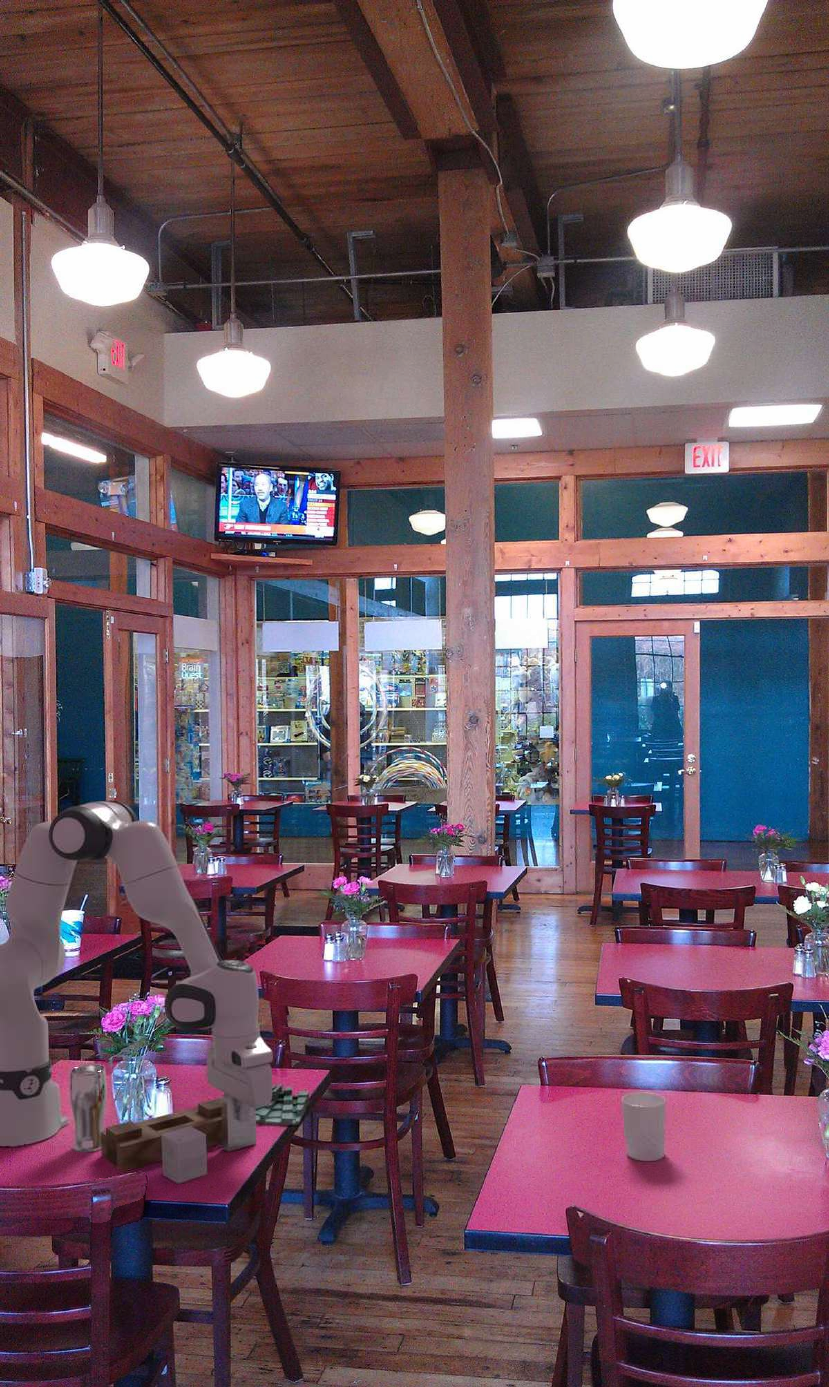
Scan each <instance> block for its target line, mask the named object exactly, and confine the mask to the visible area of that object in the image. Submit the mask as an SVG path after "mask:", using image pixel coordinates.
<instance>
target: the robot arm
mask: <svg viewBox="0 0 829 1387" xmlns="http://www.w3.org/2000/svg"><path fill="white" fill-rule="evenodd" d="M103 859H108V860H110V861H111V862H112V863H113V864H114V865H115V866H116V868H117V871H118V873H119V876H120V879H121V880H120V881H121V882H122V885H123V889H124V892H125V894H126V895H125V896H126V898H127V900H128V903H129V905H130V906H131V909H132V910H133V911H134V912H135V914H136V915H137V916H138V917H139V918H141V919H143V920H145V921H148V922H151V923H155V924H158V925H161V926H162V927H165V928H167V929H168V930H169V931H171V933H172V934H173V935H174V936H175V938H176V939H177V942H178V944H179V946H180V949H181V951H182V953H183V956H184V957H185V960H186V962H187V965H188V967H189V970H190V976H189V977H187V978H184V979H183V980H180V981H179V982H177V983H176V984H175V985H173V986H172V987H170V989H169V990H168V991H167V993H166V994H165V998H164V1004H163V1006H164V1012H165V1015H166V1018H167V1020H168V1021H169V1023H170V1024H171V1025H172V1026H174V1027H175V1028H177V1029H178V1030H181V1031H187V1032H188V1031H195V1030H200V1029H201V1030H202V1029H205V1028H211V1029H212V1032H213V1034H212V1035H213V1037H212V1039H213V1040H212V1041H211V1043H210V1048H209V1050H208V1051H207V1055H206V1056H207V1057H206V1080H207V1083H208V1085H209V1086H211V1087H213V1088H215V1089H217V1090H219V1091H221V1092H222V1093H223V1095H225V1094H228V1095H230V1096H232V1097H234V1098H235V1099H237V1100H239V1105H240V1106H241V1107H240V1112H237V1116H238V1121H240V1122H241V1123H245V1122H248V1121H249V1112H250V1110H251V1107H252V1108H254V1109H256V1108H260V1107H264V1106H267V1105H269V1104H270V1102H271V1100H272V1086H273V1072H272V1066H271V1065H270V1063H272V1062H273V1059H274V1056H273V1055H274V1054H273V1050H272V1049H271V1048H270V1047H269V1046H268V1044H267V1043H266V1042H265V1041H264V1039H263V1037H262V1036H261V1034H260V1032H261V1031H260V1024H259V1022H258V1011H259V1008H260V1005H259V1004H260V1001H259V999H260V998H259V988H258V987H259V985H258V979H257V974H256V972H255V968H254V967H253V966H252V964H249V963H248V962H246V961H242V960H238V959H222V958H221V956H220V954H219V952H218V950H217V947H216V946H215V942H214V940H213V939H212V936H211V934H210V932H209V929H208V927H207V924H206V922H205V920H204V918H203V916H202V914H201V911H200V910H199V908H198V906H197V905H196V903H195V901H194V899H193V897H192V896H191V894H190V892H189V891H188V889H187V887H186V886H187V885H186V884H185V881H184V878H183V876H182V874H181V872H180V868H179V866H178V863H177V860H176V857H175V855H174V853H173V850H172V848H171V846H170V844H169V842H168V840H167V838H166V836H165V834H164V833H163V831H162V829H161V828H160V826H159V825H158V824H157V823H155V822H153V821H151V820H138V817H137V814H136V813H135V812H134V810H133V809H132V808H131V807H130V806H129V805H127V804H126V803H124V802H121V801H118V800H105V801H90V802H87V803H85V804H80V805H76V806H75V805H74V806H71V807H68V808H66V809H65V810H63V811H60V812H59V813H58V814H57V815H56V816H55V817H54V818H53V819H52V821H50V820H49V821H44V822H41V823H38V824H36V825H34V826H33V827H32V828H31V830H30V832H29V834H28V836H27V838H26V840H25V842H24V844H23V846H22V849H21V852H20V854H19V857H18V859H17V863H16V867H15V869H14V872H13V877H12V880H11V884H10V887H9V891H8V895H7V897H6V898H7V899H6V902H5V910H6V913H7V915H8V916H9V918H10V933H9V936H8V938H7V940H5V942H4V943H0V1146H4V1148H6V1147H5V1146H10V1147H17V1146H18V1147H19V1145H20V1146H25V1145H24V1144H26V1145H29V1144H33V1143H34V1144H35V1143H37V1142H41V1141H43V1140H46V1139H49V1138H50V1137H52V1136H54V1135H56V1134H57V1133H58V1132H59V1130H60V1129H61V1128H62V1127H64V1126H67V1125H68V1124H69V1118H68V1116H65V1115H63V1114H62V1109H61V1108H62V1107H61V1106H62V1105H61V1098H60V1097H61V1096H60V1088H59V1087H60V1085H59V1084H58V1083H56V1082H55V1081H53V1080H52V1076H53V1075H52V1072H53V1071H52V1070H53V1065H52V1059H51V1058H50V1055H49V1054H50V1053H49V1051H50V1049H49V1048H50V1047H49V1023H48V1020H47V1018H46V1017H45V1016H44V1015H43V1014H41V1013H40V1012H39V1010H38V1006H37V1004H36V1001H35V1000H36V999H35V990H36V989H38V988H40V987H42V986H45V985H47V984H48V983H49V982H51V981H52V980H53V979H54V978H55V977H56V976H57V975H58V974H59V973H60V972H61V971H62V969H63V968H64V966H65V963H66V954H67V953H66V948H65V947H64V944H63V943H62V941H61V928H62V926H61V924H62V916H63V913H64V907H65V905H66V900H67V897H68V892H69V889H70V886H71V882H72V879H73V875H74V872H75V868H76V865H77V862H87V861H90V862H91V861H102V860H103Z"/></svg>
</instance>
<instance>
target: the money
mask: <svg viewBox="0 0 829 1387" xmlns="http://www.w3.org/2000/svg"><path fill="white" fill-rule="evenodd" d="M309 1105H310V1091H309V1090H305V1091H304V1090H299V1091H298V1093H297V1095H295V1094H293V1087H292V1086H285V1087H284V1090H283V1083H280V1084H279V1085H277V1084H276V1085H272V1100H271V1102H270V1104H269V1105H267V1106H264V1107H260V1108H256V1109H255V1111H256V1124H257V1123H261V1124H260V1125H267V1124H271V1126H290V1125H291V1126H297V1125H298V1126H299V1124H300V1123H301V1121H302V1117H303V1116H304V1114H305V1112H306V1111H307V1107H308V1106H309Z"/></svg>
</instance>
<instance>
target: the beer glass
mask: <svg viewBox="0 0 829 1387" xmlns="http://www.w3.org/2000/svg"><path fill="white" fill-rule="evenodd" d="M69 1073H70V1077H69V1100H70V1108H71V1113H72V1118H73V1122H74V1131H75V1132H74V1142H73V1150H74V1151H75V1152H77V1153H83V1154H84V1153H85V1154H86V1153H87V1154H88V1153H93V1152H97V1151H100V1150H102V1149H101V1132H102V1131H105V1130H104V1129H105V1127H104V1121H105V1114H106V1108H107V1100H108V1098H107V1097H108V1082H107V1072H106V1066H105V1065H104V1064H99V1063H86V1064H81V1065H78V1066H75V1067H73V1068H71V1069H70V1072H69Z"/></svg>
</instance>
